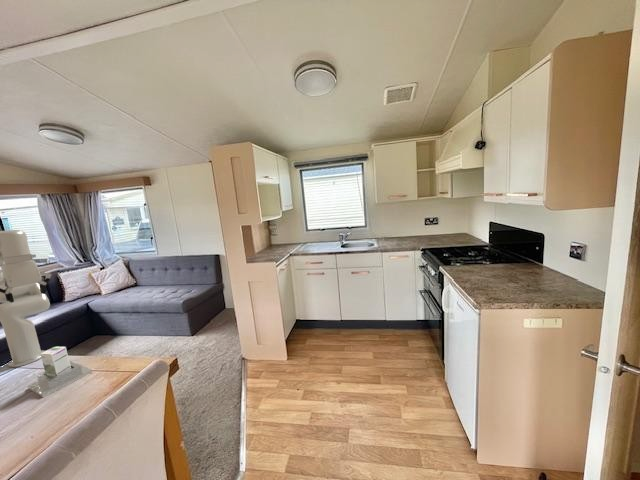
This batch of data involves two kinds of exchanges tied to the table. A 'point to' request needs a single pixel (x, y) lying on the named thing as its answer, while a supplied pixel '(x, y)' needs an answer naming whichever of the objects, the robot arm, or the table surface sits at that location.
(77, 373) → the square socket
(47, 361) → the syrup box
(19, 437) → the table surface
